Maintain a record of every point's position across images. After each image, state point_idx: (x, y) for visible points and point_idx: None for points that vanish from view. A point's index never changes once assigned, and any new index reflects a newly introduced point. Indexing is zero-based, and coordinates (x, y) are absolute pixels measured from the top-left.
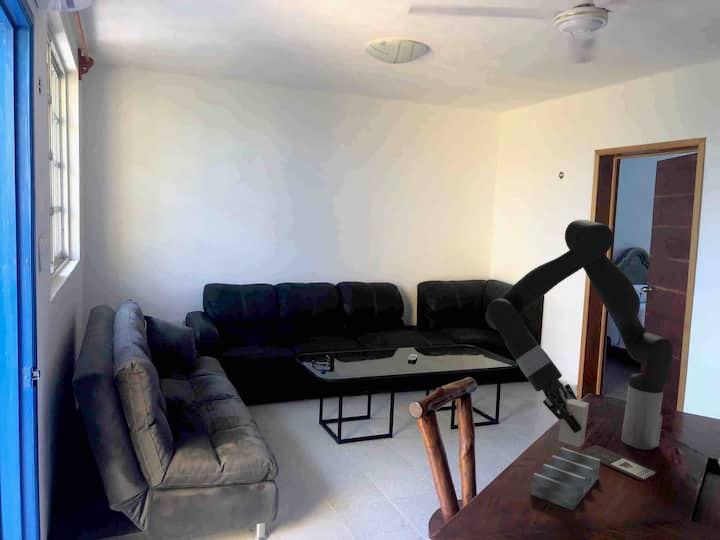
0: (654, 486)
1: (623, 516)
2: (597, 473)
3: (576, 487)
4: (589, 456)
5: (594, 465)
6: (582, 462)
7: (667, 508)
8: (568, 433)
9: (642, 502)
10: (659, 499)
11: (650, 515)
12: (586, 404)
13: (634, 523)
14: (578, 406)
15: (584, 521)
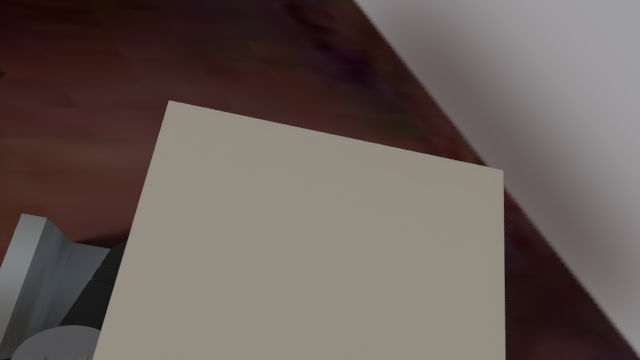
0: (16, 28)
1: (353, 137)
2: (68, 241)
3: None
4: (3, 279)
5: (49, 251)
6: (27, 322)
7: (196, 4)
8: None
9: (198, 76)
10: (135, 21)
11: (286, 57)
12: (286, 143)
13: (377, 105)
14: (496, 279)
15: None
